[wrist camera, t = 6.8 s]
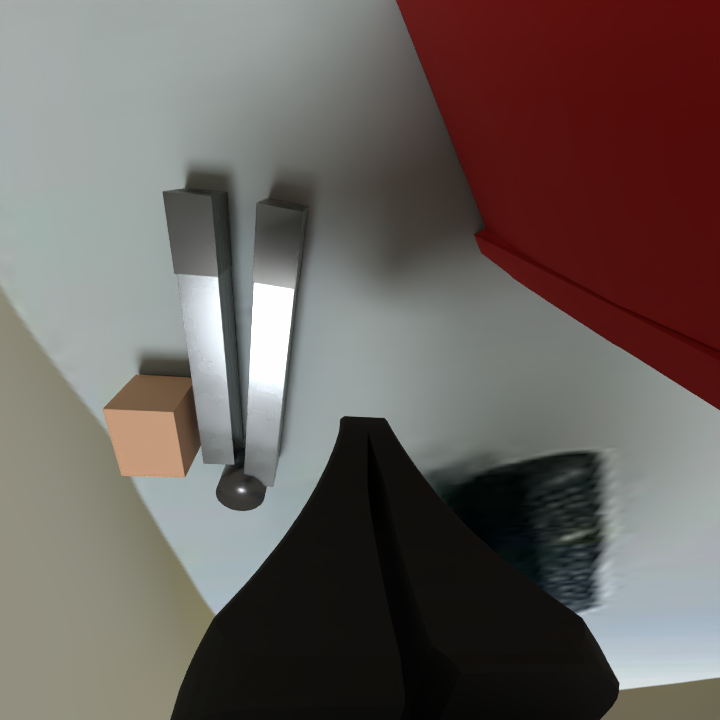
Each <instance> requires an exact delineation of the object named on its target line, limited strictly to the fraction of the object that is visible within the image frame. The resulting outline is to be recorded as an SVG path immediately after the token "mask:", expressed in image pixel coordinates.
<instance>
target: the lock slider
mask: <svg viewBox="0 0 720 720" xmlns="http://www.w3.org/2000/svg"><path fill="white" fill-rule="evenodd" d="M103 412H104V416H105V419H106V423H107V426H108V430H109V433H110V437H111V440H112V444H113V447H114V451H115V454H116V458H117V461H118V465H119V468H120V471H121V475H122V476H149V477H184V478H185V476H186V474H187V472H188V470H189V468H190V466H191V464H192V462H193V460H194V458H195V456H196V454H197V452H198V450H199V448H200V446H201V442H200V434H199V427H198V420H197V413H196V406H195V399H194V392H193V385H192V378H190V377H171V376H152V375H135V376H134V377H133V378H132V379H131V380H130V381H129V382H128V383H127V384H126V385H125V386H124V388H123V389H122V390H121V391H120V392H119V393H118V394H117V395H116V396H115V397H114V398H113V399H112V400H111V401H110V402H109V403H108V404H107V405H106V406H105V407H104V408H103Z"/></svg>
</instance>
